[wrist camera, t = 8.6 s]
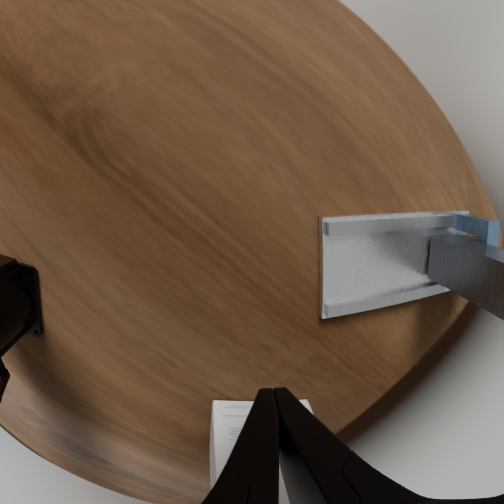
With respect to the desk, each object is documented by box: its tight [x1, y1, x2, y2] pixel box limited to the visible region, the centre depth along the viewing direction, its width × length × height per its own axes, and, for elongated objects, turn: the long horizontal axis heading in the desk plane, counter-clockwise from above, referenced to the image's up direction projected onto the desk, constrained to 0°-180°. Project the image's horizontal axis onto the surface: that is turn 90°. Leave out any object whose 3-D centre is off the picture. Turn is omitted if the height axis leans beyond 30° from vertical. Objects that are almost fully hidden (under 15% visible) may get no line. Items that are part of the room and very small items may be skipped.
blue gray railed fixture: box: [318, 210, 500, 319], centre depth 18 cm, size 16×8×5 cm, turn 94°
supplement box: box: [210, 399, 314, 504], centre depth 16 cm, size 9×9×15 cm
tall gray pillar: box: [427, 234, 504, 320], centre depth 16 cm, size 8×4×10 cm, turn 94°
